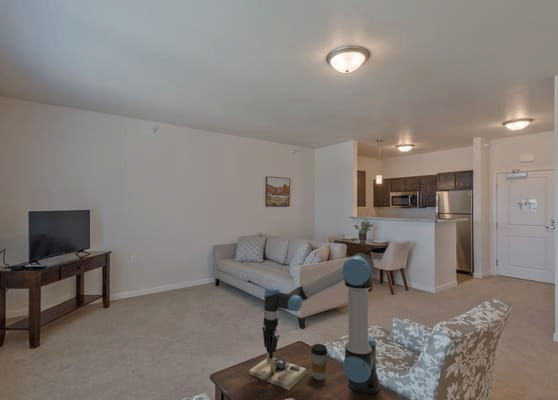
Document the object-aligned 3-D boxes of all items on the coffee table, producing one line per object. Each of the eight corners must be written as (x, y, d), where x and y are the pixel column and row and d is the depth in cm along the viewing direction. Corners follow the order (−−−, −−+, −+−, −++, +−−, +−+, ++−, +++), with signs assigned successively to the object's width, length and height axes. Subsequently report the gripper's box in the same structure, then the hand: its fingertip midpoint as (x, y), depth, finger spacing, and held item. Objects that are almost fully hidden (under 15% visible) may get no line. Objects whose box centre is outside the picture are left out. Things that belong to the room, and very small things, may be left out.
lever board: (306, 372, 154) (306, 365, 154) (289, 390, 139) (289, 382, 139) (269, 359, 167) (269, 353, 167) (249, 374, 152) (249, 367, 152)
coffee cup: (326, 382, 145) (327, 351, 145) (310, 380, 147) (310, 350, 147) (327, 373, 153) (327, 344, 154) (311, 371, 155) (311, 342, 155)
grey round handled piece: (279, 359, 162) (279, 346, 162) (293, 364, 157) (293, 351, 157) (264, 371, 150) (264, 357, 150) (278, 376, 145) (278, 362, 145)
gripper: (258, 314, 155) (256, 359, 154) (271, 323, 144) (269, 371, 144) (270, 311, 159) (268, 355, 159) (284, 320, 148) (282, 367, 148)
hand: (269, 363), depth 151 cm, fingers closed
